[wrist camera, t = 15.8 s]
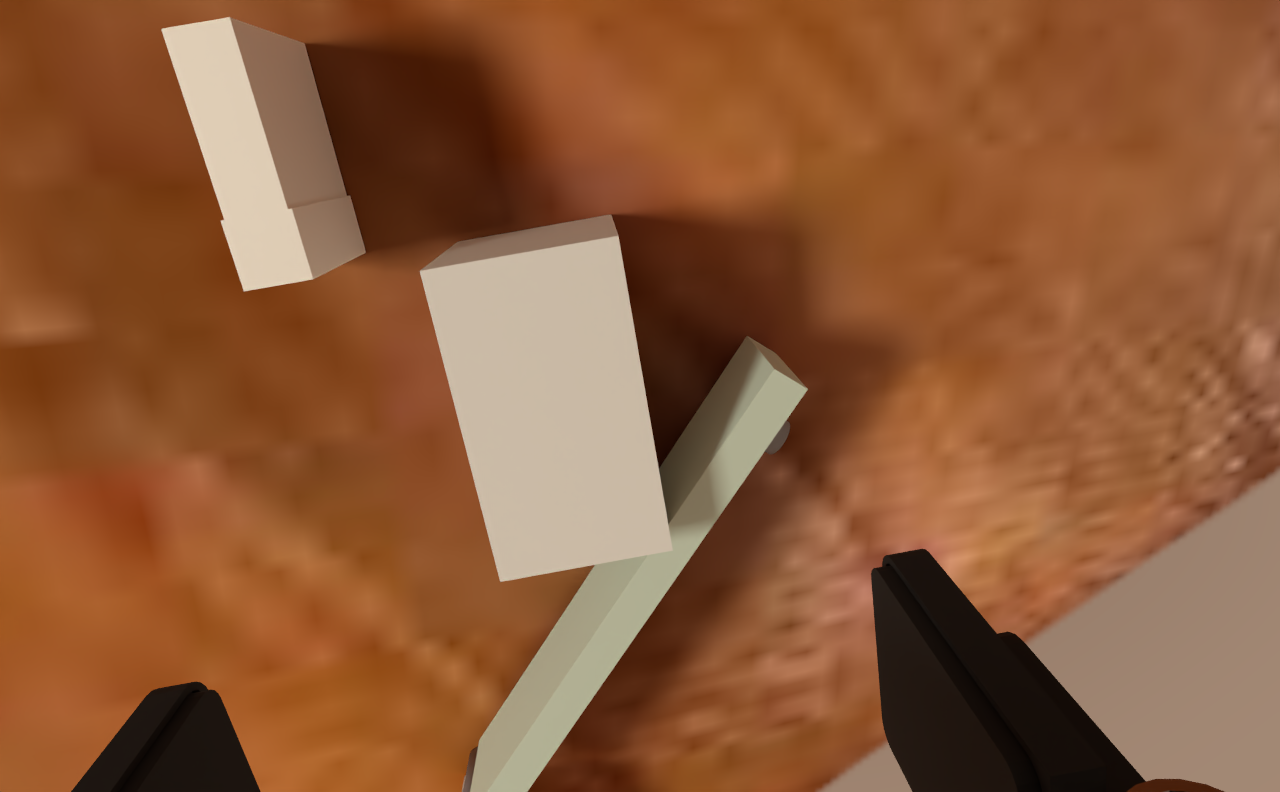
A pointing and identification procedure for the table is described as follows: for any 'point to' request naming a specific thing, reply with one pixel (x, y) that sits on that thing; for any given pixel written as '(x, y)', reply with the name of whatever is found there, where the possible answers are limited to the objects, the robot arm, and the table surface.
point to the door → (638, 569)
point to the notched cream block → (265, 151)
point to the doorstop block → (550, 395)
